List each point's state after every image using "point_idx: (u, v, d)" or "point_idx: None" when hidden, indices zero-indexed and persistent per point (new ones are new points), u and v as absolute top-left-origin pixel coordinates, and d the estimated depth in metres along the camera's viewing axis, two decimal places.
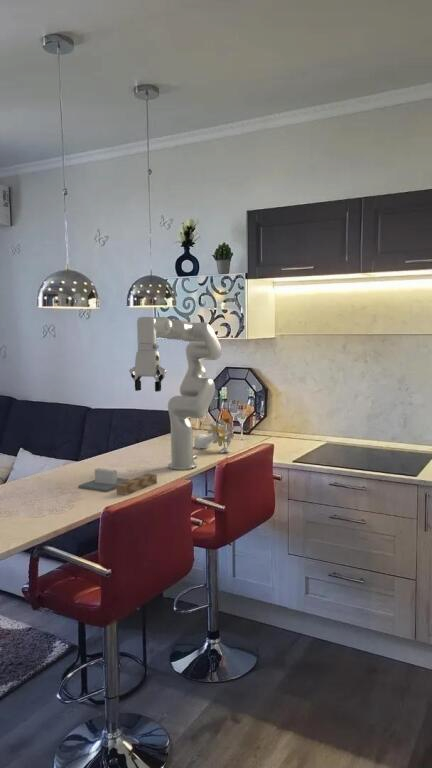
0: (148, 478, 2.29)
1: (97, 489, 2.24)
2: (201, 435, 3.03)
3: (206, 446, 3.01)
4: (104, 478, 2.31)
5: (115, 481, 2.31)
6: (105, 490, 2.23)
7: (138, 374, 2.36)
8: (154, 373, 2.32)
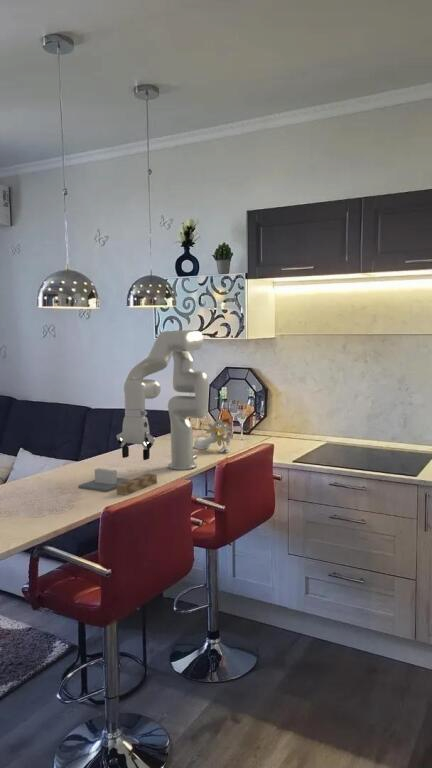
0: (148, 478, 2.29)
1: (97, 489, 2.24)
2: (200, 438, 3.03)
3: None
4: (104, 478, 2.31)
5: (115, 481, 2.31)
6: (105, 490, 2.23)
7: (125, 441, 2.24)
8: (142, 441, 2.21)
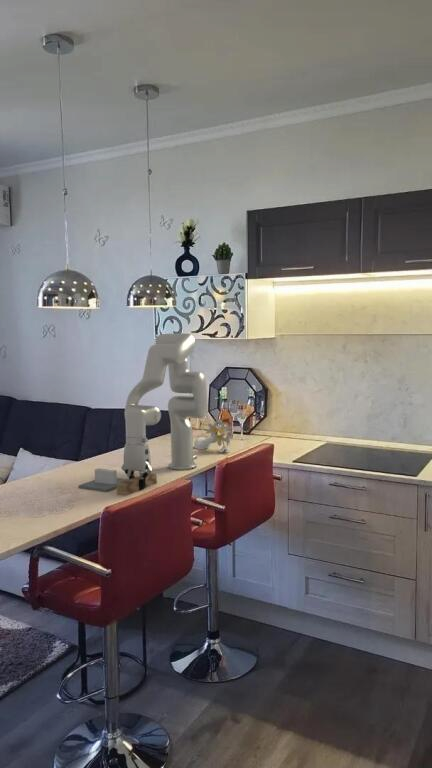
0: (148, 477, 2.29)
1: (97, 489, 2.24)
2: (200, 438, 3.03)
3: None
4: (104, 478, 2.31)
5: (115, 481, 2.31)
6: (105, 490, 2.23)
7: (127, 468, 2.25)
8: (143, 468, 2.22)
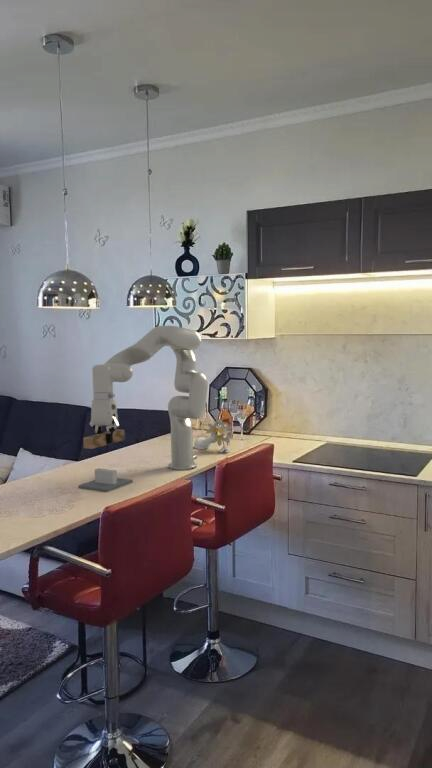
0: (115, 433, 2.34)
1: (97, 489, 2.24)
2: (200, 438, 3.03)
3: None
4: (104, 478, 2.31)
5: (115, 481, 2.31)
6: (105, 490, 2.23)
7: (94, 423, 2.30)
8: (110, 423, 2.27)
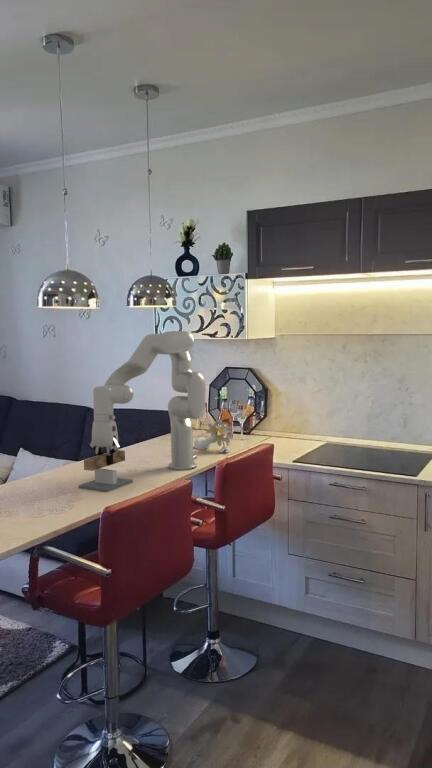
0: (116, 454, 2.35)
1: (97, 489, 2.24)
2: (200, 438, 3.03)
3: None
4: (104, 478, 2.31)
5: (115, 481, 2.31)
6: (105, 490, 2.23)
7: (95, 444, 2.31)
8: (110, 444, 2.27)
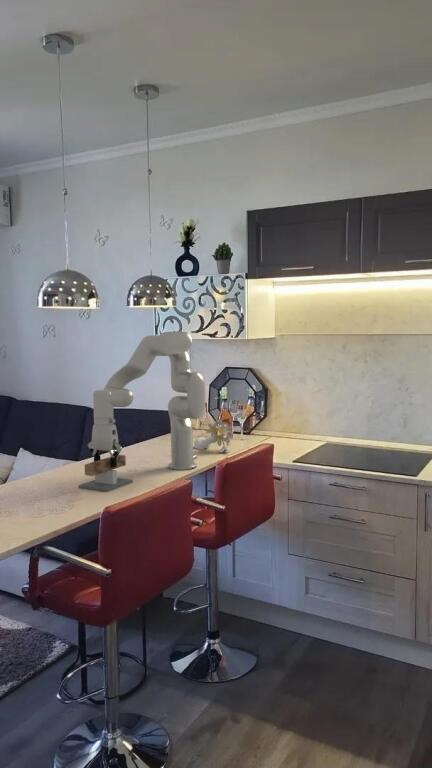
0: None
1: (97, 489, 2.24)
2: (200, 438, 3.03)
3: None
4: (104, 478, 2.31)
5: (115, 481, 2.31)
6: (105, 490, 2.23)
7: (95, 448, 2.31)
8: (111, 448, 2.27)
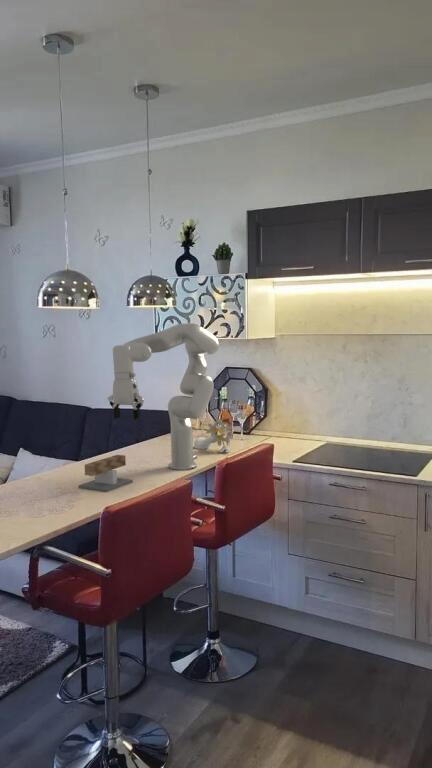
0: (116, 459, 2.35)
1: (97, 489, 2.24)
2: (200, 438, 3.03)
3: None
4: (104, 478, 2.31)
5: (115, 481, 2.31)
6: (105, 490, 2.23)
7: (116, 402, 2.36)
8: (132, 402, 2.32)
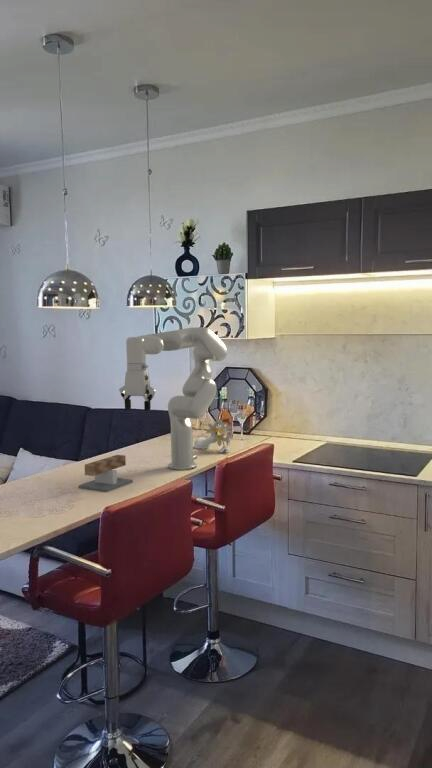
0: (116, 459, 2.35)
1: (97, 489, 2.24)
2: (200, 438, 3.03)
3: None
4: (104, 478, 2.31)
5: (115, 481, 2.31)
6: (105, 490, 2.23)
7: (128, 393, 2.39)
8: (143, 393, 2.35)
